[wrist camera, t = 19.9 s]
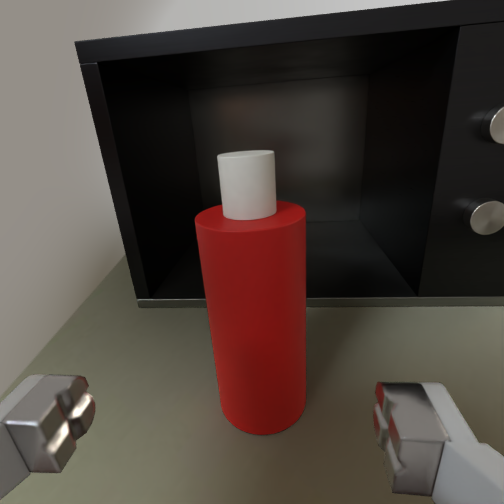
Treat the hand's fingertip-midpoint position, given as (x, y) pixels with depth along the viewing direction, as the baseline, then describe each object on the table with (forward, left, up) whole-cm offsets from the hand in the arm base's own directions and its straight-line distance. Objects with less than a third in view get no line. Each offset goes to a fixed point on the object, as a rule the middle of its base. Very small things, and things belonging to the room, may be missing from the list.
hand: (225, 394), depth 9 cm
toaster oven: (+4, +34, -10) cm, 35 cm away
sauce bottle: (0, +10, -10) cm, 14 cm away
